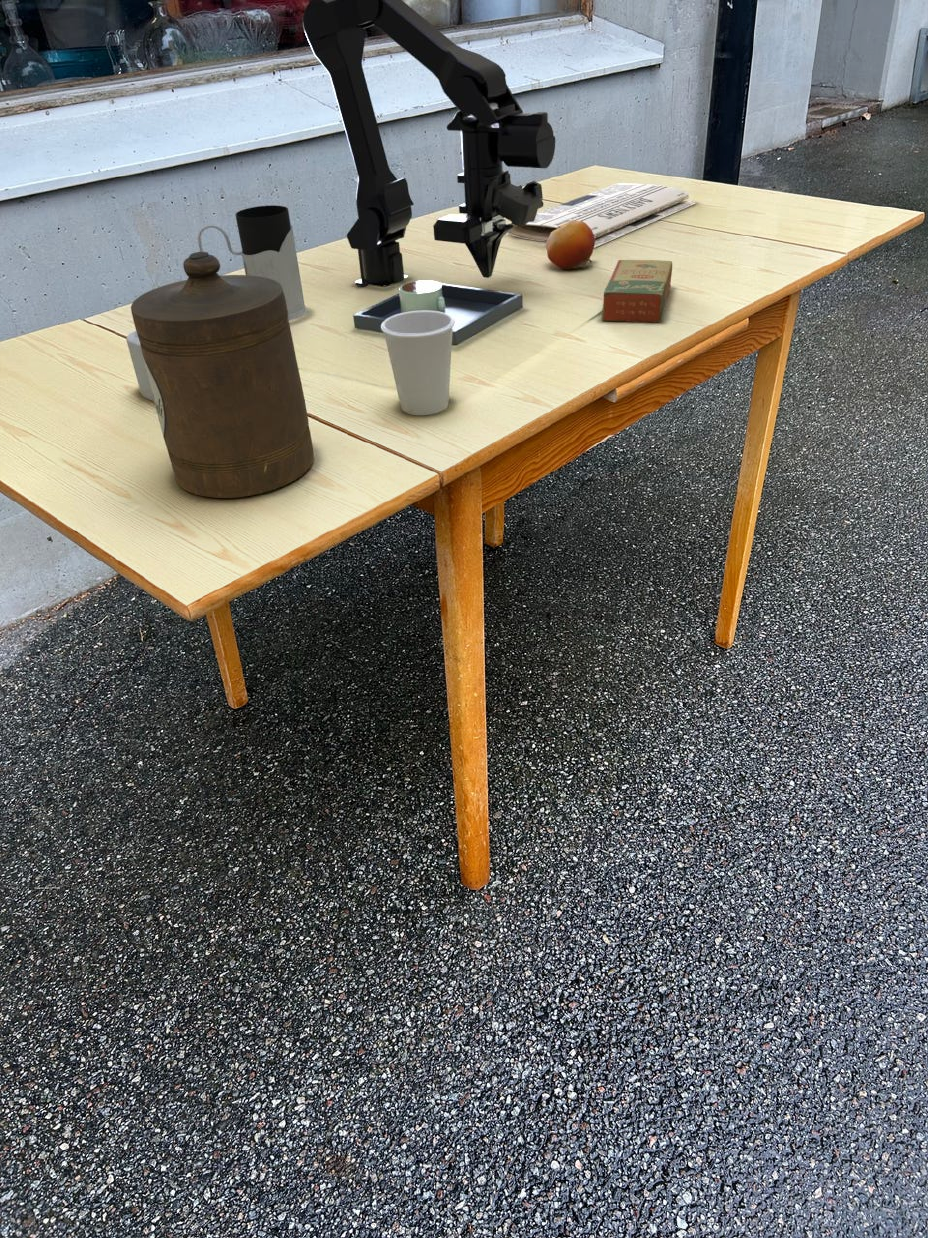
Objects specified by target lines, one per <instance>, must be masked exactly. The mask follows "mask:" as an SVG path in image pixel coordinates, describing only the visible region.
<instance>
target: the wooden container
mask: <svg viewBox="0 0 928 1238" xmlns="http://www.w3.org/2000/svg"><path fill="white" fill-rule="evenodd" d="M182 267H183V270H184V273H185V275H186V276H187V279H185V280H180V281H175V282H172V283H168V284H165V285H161V286H158V287H156V288H153V289H150V290H148V291H146V292H144V293H143V294H141V295H139V296H137V298H135V300H133V301H132V303H131V305H130V312H131V316H132V321H133V324H134V328H135V331H137V335H138V338H139V341H140V345H141V350H142V354H143V358H144V362H145V366H146V370H147V374H148V378H149V382H150V386H151V390H152V394H153V399H154V401H153V402H154V407H155V410H156V414H157V419H158V422H159V426H160V430H161V434H162V437H163V440H164V445H165V447H166V450H167V453H168V457H169V461H170V464H171V468H172V471H173V474H174V478H175V480H176V482H177V484H178V485H179V487H181V489H183V490H185V492H188V493H190V494H194V495H197V496H201V497H206V498H215V499H233V498H243V497H244V498H245V497H249V496H256V495H260V494H263V493H268V492H271V491H274V490H277V489H279V488H282V487H284V486H286V485H288V484H290V483H292V482H294V481H296V480H297V479H299V478H300V477H302V476H303V475H304V474H305V473H306V472H307V471H309V470H310V468H311V467H312V465H313V463H314V460H315V451H314V446H313V439H312V434H311V433H312V432H311V430H310V425H309V424H310V423H309V415H308V411H307V405H306V399H305V394H304V388H303V384H302V380H301V375H300V369H299V366H298V360H297V356H296V355H297V354H296V350H295V345H294V340H293V334H292V329H291V324H290V321H289V318H288V310H287V304H286V299H285V295H284V291H283V288H282V286H281V284H280V283H278V282H277V281H275V280H272V279H269V278H265V277H259V276H251V275H246V274H228V275H227V274H223V275H220V274H219V273H218V272H219V271H220V269H221V263H220V260H219V259H218V258H217V256H215V255H213V254H210V253H209V252H207V251H203V252H200V251H196V252H193V253H192V252H191V254H189V255H188V257H187V258H185V259H184V261H183V265H182Z"/></svg>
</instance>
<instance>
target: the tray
mask: <svg viewBox="0 0 928 1238" xmlns="http://www.w3.org/2000/svg"><path fill="white" fill-rule="evenodd" d="M439 283H440V284H441V285H442V294H443V298H444V302H445V313H446V314H449V315H450V316H452V317H453V318H454V320H455V324H454V326H453V332H452V346H458V345H460V344H462V343H464V342H465V341H467V340H468V339H470V338H472V337H473V336H475V335H477V334H479V333H481V332H482V331H484V330H486V329H488V328H489V327H491V326H494V325H495V324H497V323H498V322H501V321H502V320H503V319H506V318H507V317H509V316H511V315H512V314H514V313H516V312H518V311H519V310H521V309H523V308H524V302H523V301H524V299H523V298H524V297H523V294H522V293H516V292H508V291H507V292H506V291H500V290H493V289H487V288H478V287H472V286H464V285H457V284H450V283H442V282H439ZM400 313H401V306H400V296H399V292H398V293H396V294H393V295H392V296H389V297H388V298H386V299H384V300H381V301H379V302H377V303H375V304H373V305H371V306H369V307H367V308H364V309H363V310H361V311H358V312H356V313H354V314H353V315H352V317H353V325H354V326H353V327H354V329H359V330H365V331H370V332H376V333H381V334H384V332H383V331H382V330H381V324H382V323H383V322H384V321H385V320H386V319H387V318H389V317H391V316H393V315H396V314H400Z"/></svg>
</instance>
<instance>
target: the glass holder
mask: <svg viewBox="0 0 928 1238" xmlns="http://www.w3.org/2000/svg"><path fill="white" fill-rule="evenodd" d="M234 216H235V221H236V226H237V231H238V235H239V242H240V247H241V251H234V250H233V249H232V245H231V240H230V238H229V236H228V233H227V232H226V230H224V228H222V227H220V226H219V225H217V224H207V225H205V226H203V227H202V228H201V229H200V230H199V233H198V235H197V242H198V248H199V249H198V250H199V252H204V249H203V246H202V233H203V232H204V231H205V230H207V229H210V228H213V229H216V230H218V231H219V232H220V233H221V234H222V235H223V237H224V239H225V241H226V244H227V248H228V251H229V252H230V253H231V254H232V255H234V256H241V257H242V263H243V268H244V275H251V276H259V277H265V278H269V279H272V280H275V281H277V282H278V283H280V284H281V286H282V288H283V291H284V295H285V299H286V304H287V310H288V318H289V322H290V321H292V320H296V319H299V318H301V317H303V316H304V315H306V314H307V313H309V310H308V308H307V307H306V304H305V298H304V291H303V285H302V278H301V273H300V272H301V271H300V267H299V260H298V254H297V248H296V247H297V246H296V242H295V236H294V229H293V225H292V224H291V219H290V217H291V216H290V211H289V208H288V207H287V206H285V205H274V204H273V205H271V204H269V205H258V206H251V207H247V208H243V209H241V210H239V211H237V212H235V215H234Z"/></svg>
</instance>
